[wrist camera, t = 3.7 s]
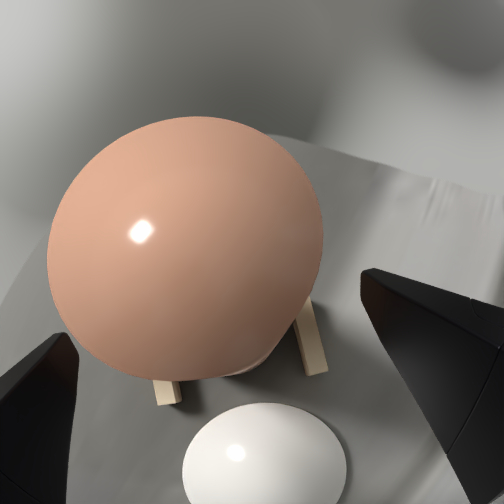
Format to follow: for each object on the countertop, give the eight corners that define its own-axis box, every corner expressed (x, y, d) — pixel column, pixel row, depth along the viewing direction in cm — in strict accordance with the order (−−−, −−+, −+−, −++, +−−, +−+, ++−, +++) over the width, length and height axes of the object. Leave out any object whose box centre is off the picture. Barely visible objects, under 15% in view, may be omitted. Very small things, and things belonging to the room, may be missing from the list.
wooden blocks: (323, 370, 17) (335, 370, 14) (165, 403, 16) (148, 408, 14) (289, 243, 20) (294, 221, 17) (144, 274, 19) (127, 257, 16)
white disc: (270, 557, 12) (270, 562, 12) (153, 473, 15) (150, 476, 14) (374, 459, 15) (377, 461, 14) (257, 369, 17) (257, 369, 16)
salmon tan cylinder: (233, 394, 17) (174, 447, 4) (163, 328, 18) (13, 241, 6) (298, 321, 18) (378, 213, 6) (226, 261, 19) (182, 87, 7)
